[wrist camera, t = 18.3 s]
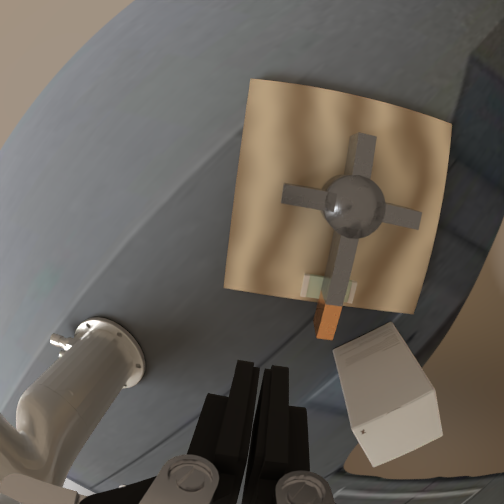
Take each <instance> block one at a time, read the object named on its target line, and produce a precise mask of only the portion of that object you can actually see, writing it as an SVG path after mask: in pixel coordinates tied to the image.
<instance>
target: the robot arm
mask: <svg viewBox="0 0 504 504" xmlns="http://www.w3.org/2000/svg"><path fill="white" fill-rule="evenodd" d="M50 342H51V344H52V345H55V346H57V347H60V348H64V349H65V351H64V350H61V351H60V353H59V356H60V358H59V359H58V360H56V361H55V362H54V363H53V364H52V365H51V366H50V367H49V368H48V369H47V370H46V371H45V372H44V373H43V374H42V375H41V376H40V377H39V378H38V379H37V380H36V381H35V382H34V383H33V384H32V385H31V386H29V387H28V388H27V389H26V391H25V392H24V393H23V394H22V396H21V397H20V400H19V402H18V406H17V412H16V429H15V428H14V427H13V426H12V425H10V423H9V422H8V421H7V420H6V419H5V418H4V417H3V416H2V414H1V413H0V504H236V503H237V499H238V495H239V491H240V487H241V483H242V479H243V475H244V471H245V466H246V462H247V457H248V451H249V457H248V464H247V471H246V478H245V485H244V491H243V498H242V504H336V503H335V502H334V498H333V495H332V491H331V488H330V486H329V484H328V482H327V481H326V480H325V479H324V478H323V477H321V476H320V475H318V474H316V473H313V472H310V463H309V442H308V424H307V411H306V408H304V407H295V406H289V368H288V367H281V366H274V365H272V367H271V369H265V370H264V375H263V380H262V385H261V390H260V395H259V400H258V404H257V409H256V414H255V418H254V423H253V416H254V409H255V401H256V394H257V386H258V378H259V371H260V368H258V367H253V366H254V362H247V361H241V360H238V361H237V365H236V369H235V374H234V378H233V382H232V386H231V390H230V394H229V397H226V396H220V395H215V394H210V393H208V394H207V396H206V399H205V402H204V405H203V408H202V411H201V414H200V417H199V420H198V423H197V426H196V429H195V432H194V435H193V438H192V441H191V444H190V447H189V450H188V453H187V455H180V456H175V457H174V458H172V459H170V460H168V461H167V462H166V463H165V465H164V466H163V467H162V469H161V470H160V472H159V474H158V475H157V476H155V477H152V478H149V479H146V480H143V481H140V482H137V483H134V484H130V485H127V486H124V487H120V488H116V489H113V490H109V491H105V492H101V493H97V494H93V495H90V496H84V495H80V494H78V493H77V491H73V490H69V489H66V488H62V487H63V484H64V481H65V479H66V476H67V474H68V472H69V470H70V468H71V466H72V464H73V462H74V460H75V459H76V457H77V455H78V454H79V452H80V451H81V449H82V448H83V446H84V444H85V443H86V441H87V440H88V438H89V437H90V435H91V434H92V432H93V431H94V429H95V428H96V426H97V425H98V423H99V422H100V420H101V419H102V417H103V416H104V414H105V413H106V412H107V410H108V409H109V407H110V406H111V404H112V403H113V401H114V400H115V398H116V397H117V395H118V394H119V392H120V391H121V390H122V388H130V387H133V386H135V385H136V384H137V383H138V382H139V381H140V380H141V378H142V377H143V375H144V372H145V359H144V355H143V352H142V350H141V348H140V346H139V344H138V343H137V341H136V340H135V339H134V338H133V336H132V335H131V334H130V333H129V332H128V331H127V330H126V329H124V328H123V327H122V326H120V325H119V324H117V323H115V322H113V321H111V320H108V319H106V318H100V317H93V318H89V319H87V320H85V321H83V322H82V323H81V324H80V325H79V326H78V328H77V329H76V331H75V335H74V338H71V337H68V338H64V337H63V336H61V335H58V334H55V333H53V334H52V336H51V338H50ZM252 423H253V429H252ZM251 430H252V436H251ZM250 437H251V443H250ZM249 444H250V450H249Z"/></svg>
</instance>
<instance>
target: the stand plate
mask: <svg viewBox="0 0 504 504" xmlns="http://www.w3.org/2000/svg"><path fill="white" fill-rule="evenodd" d="M451 130H452V124H450V123H448V122H445V121H442V120H439V119H437V118H434V117H431V116H428V115H425V114H422V113H419V112H415V111H412V110H409V109H406V108H402V107H399V106H395V105H392V104H388V103H385V102H381V101H377V100H373V99H369V98H365V97H361V96H357V95H352V94H348V93H343V92H338V91H333V90H328V89H323V88H317V87H311V86H305V85H299V84H292V83H285V82H277V81H269V80H260V79H251V80H250V87H249V94H248V100H247V107H246V114H245V121H244V128H243V136H242V143H241V150H240V158H239V165H238V173H237V180H236V188H235V196H234V204H233V212H232V220H231V228H230V237H229V245H228V254H227V262H226V271H225V280H224V288H228V289H234V290H240V291H246V292H252V293H258V294H265V295H271V296H278V297H284V298H291V299H298V300H305V301H312V302H318V300H319V299H317V298H309V297H301V296H300V293H301V288H302V283H303V278H304V273H307V274H313V275H320V276H324V274H325V270H326V265H327V261H328V256H329V251H330V247H331V242H332V237H333V232H334V229H333V228H332V227H331V226H330V225H329V223H328V222H327V221H326V220H325V219H324V217H323V216H322V214H321V211H320V210H316V209H311V208H305V207H299V206H294V205H288V204H282V203H281V196H282V189H283V183H284V182H285V183H291V184H297V185H302V186H308V187H314V188H319V189H322V188H323V186H324V185H325V183H326V182H327V181H328V180H330V179H331V178H333V177H335V176H337V175H341V174H344V171H345V165H346V158H347V152H348V145H349V138H350V136H352V135H354V134H356V133H358V132H360V133H364V134H369V135H373V136H377V139H376V146H375V153H374V160H373V166H372V172H371V180H372V181H374V182H375V183H376V184H377V185H378V186H379V188H380V189H381V191H382V193H383V195H384V198H385V202H387V203H391V204H396V205H400V206H404V207H408V208H411V209H414V210H417V211H420V212H422V216H421V221H420V226H419V230H416V229H411V228H407V227H402V226H397V225H393V224H388V223H383V222H382V223H381V225H380V226H379V227H378V229H377V230H376V231H374V232H373V233H372V234H370V235H368V236H366V237H363V238H359V241H358V245H357V250H356V254H355V258H354V263H353V267H352V271H351V275H350V279H349V280H354V281H357V287H356V291H355V295H354V299H353V302H352V304H351V303H346V302H343V306H349V307H357V308H365V309H373V310H382V311H390V312H399V313H408V314H414V311H415V308H416V305H417V301H418V298H419V295H420V292H421V288H422V285H423V282H424V278H425V275H426V271H427V267H428V264H429V260H430V256H431V252H432V248H433V243H434V239H435V235H436V230H437V226H438V221H439V216H440V211H441V205H442V200H443V194H444V188H445V182H446V175H447V168H448V160H449V151H450V141H451Z"/></svg>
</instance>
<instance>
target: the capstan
mask: <svg viewBox="0 0 504 504" xmlns="http://www.w3.org/2000/svg"><path fill="white" fill-rule="evenodd" d="M376 139H377V136H373V135H369V134H364V133H360V132H358V133H356V134H354V135H352V136H350V138H349V145H348V152H347V158H346V165H345V171H344V174H341V175H337V176H335V177H333V178H331V179H330V180H328V181H327V182H326V183H325V185H324V186H323V188H322V189H319V188H314V187H308V186H302V185H297V184H291V183H285V182H284V183H283V189H282V196H281V203H282V204H288V205H294V206H299V207H305V208H311V209H316V210H320V211H321V214H322V216H323V217H324V219H325V220H326V221H327V222H328V223H329V225H330V226H331V227H332V228H333V229H334V232H333V237H332V242H331V247H330V251H329V256H328V261H327V265H326V270H325V274H324V279H323V283H322V287H321V292H320V296H319V300H318V304H317V308H316V312H315V316H314V320H313V322H314V327H315V333H316V338H319V339H327V340H333V337H334V334H335V331H336V327H337V324H338V320H339V317H340V313H341V309H342V306H343V302H344V298H345V295H346V291H347V287H348V283H349V279H350V275H351V271H352V267H353V263H354V258H355V254H356V250H357V245H358V241H359V238H363V237H366V236H368V235H370V234H372V233H373V232H374V231H376V230H377V229H378V227H379V226H380V225H381V223H382V222H383V223H388V224H393V225H397V226H402V227H407V228H411V229H416V230H419V226H420V221H421V216H422V212H420V211H417V210H414V209H411V208H408V207H404V206H400V205H396V204H391V203H387V202H385V198H384V195H383V193H382V191H381V189H380V188H379V186H378V185H377V184H376V183H375V182H374V181H372V180H371V172H372V166H373V160H374V153H375V146H376Z"/></svg>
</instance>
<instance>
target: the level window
mask: <svg viewBox="0 0 504 504" xmlns="http://www.w3.org/2000/svg"><path fill="white" fill-rule="evenodd" d="M323 279H324V276H320V275H313V274H307V273H304V278H303V283H302V288H301V293H300V296H301V297H309V298H317V299H319V296H320V292H321V287H322V283H323ZM356 287H357V281H354V280H349V283H348V287H347V291H346V295H345V298H344V302H346V303H351V304H352V302H353V299H354V295H355V291H356Z"/></svg>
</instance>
